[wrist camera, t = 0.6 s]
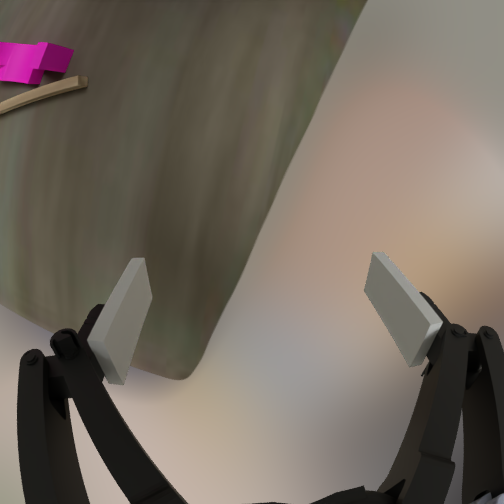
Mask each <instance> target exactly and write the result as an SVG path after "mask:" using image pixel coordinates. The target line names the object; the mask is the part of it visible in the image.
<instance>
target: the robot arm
mask: <svg viewBox="0 0 504 504" xmlns="http://www.w3.org/2000/svg"><path fill="white" fill-rule="evenodd" d="M364 292H365V293H366V295H367V296H368V298H369V300H370V301H371V303H372V304H373V306H374V308H375V309H376V311H377V313H378V314H379V316H380V317H381V319H382V321H383V322H384V324H385V326H386V327H387V329H388V331H389V332H390V334H391V336H392V337H393V339H394V341H395V343H396V344H397V346H398V348H399V350H400V351H401V353H402V355H403V357H404V359H405V360H406V362H407V364H408V366H409V367H413V366H417V365H421V364H422V363H423V361H424V359H425V357H426V356H427V357H428V359H429V363H428V364H427V366H426V368H425V370H424V371H423V373H422V375H421V376H423V375H424V378H423V382H422V385H421V389H420V393H419V396H418V399H417V402H416V406H415V409H414V412H413V415H412V418H411V420H410V423H409V426H408V429H407V431H406V434H405V437H404V440H403V442H402V444H401V447H400V450H399V452H398V454H397V457H396V459H395V461H394V463H393V465H392V468H391V470H390V472H389V474H388V476H387V478H386V479H385V481H384V482H383V483H382V485H381V486H380V487H379V489H378V490H377V492H376V491H366V490H365V488H364V486H361V487H357V488H353V489H349V490H345V491H341V492H336V493H334V494H332V495H330V496H327V497H325V498H323V499H321V500H318V501H316V502H313V503H311V504H444V501H445V498H446V495H447V493H448V490H449V487H450V484H451V480H452V477H453V474H454V470H455V463H454V462H452V461H451V456H452V452H453V448H454V444H455V440H456V435H457V431H458V426H459V421H460V416H461V410H462V412H463V432H464V463H463V465H464V466H463V483H462V504H504V352H503V348H502V345H501V342H500V339H499V336H498V334H497V333H496V331H495V330H494V329H492V328H491V327H488V326H482V327H481V328H480V329H479V331H478V333H477V334H474V333H468V332H467V331H466V329H465V328H463V327H462V326H460V325H458V324H451V323H450V322H449V321H448V319H447V318H446V317H445V316H444V315H443V313H442V312H441V311H440V310H439V309H438V307H437V306H436V305H435V304H434V302H433V301H432V300H431V299H430V298H429V297H428V296H427V295H426V294H424V293H422V292H418V291H417V289H416V288H415V287H414V286H413V285H412V283H411V282H410V281H409V280H408V279H407V278H406V277H405V275H404V274H403V273H402V272H401V271H400V270H399V269H398V268H397V266H396V265H395V264H394V263H393V262H392V261H391V260H390V259H389V257H388V256H387V255H386V254H385V253H384V252H373V254H372V258H371V263H370V268H369V272H368V276H367V280H366V284H365V289H364ZM151 301H152V293H151V288H150V284H149V279H148V274H147V269H146V264H145V258H132V259H131V260H130V262H129V264H128V265H127V267H126V269H125V270H124V272H123V274H122V275H121V277H120V279H119V281H118V282H117V284H116V286H115V288H114V289H113V291H112V293H111V295H110V297H109V298H108V300H107V302H106V304H98V305H96V306H95V307H94V308H93V309H92V310H91V311H90V313H89V314H88V316H87V319H86V320H85V322H84V325H82V327H81V329H80V331H79V333H78V334H77V333H76V332H75V330H73V329H66V328H65V329H62V330H59V331H58V332H56V333H55V334H54V335H53V336H52V337H51V340H50V346H51V348H52V349H53V351H54V353H55V355H54V356H47V357H45V356H44V354H43V353H42V352H41V351H40V350H38V349H32V350H29V351H27V352H26V353H25V354H24V355H23V356H22V358H21V360H20V367H19V379H18V380H19V381H18V396H17V397H18V398H17V435H18V451H19V463H20V472H21V479H22V485H23V492H24V497H25V502H26V504H90V502H89V499H88V496H87V493H86V489H85V485H84V482H83V479H82V474H81V471H80V467H79V462H78V457H77V453H76V448H75V443H74V437H73V432H72V425H71V419H70V411H69V403H68V398H73V401H74V403H75V405H76V407H77V410H78V412H79V414H80V417H81V419H82V421H83V423H84V425H85V427H86V429H87V431H88V433H89V435H90V437H91V439H92V441H93V443H94V445H95V447H96V449H97V451H98V452H99V454H100V456H101V458H102V459H103V461H104V463H105V465H106V466H107V468H108V470H109V471H110V473H111V475H112V476H113V478H114V479H115V481H116V482H117V484H118V486H119V487H120V489H121V490H122V491H123V493H124V494H125V496H126V497H127V499H128V500H129V502H130V504H188V503H187V502H186V501H185V500H184V498H183V497H182V496H181V495H180V494H179V493H178V492H177V491H176V489H175V488H174V487H173V486H172V485H171V484H170V482H169V481H168V480H167V479H166V478H165V476H164V475H163V474H162V473H161V471H160V470H159V469H158V468H157V466H156V465H155V464H154V462H153V461H152V460H151V459H150V457H149V456H148V454H147V453H146V452H145V450H144V449H143V448H142V446H141V445H140V443H139V442H138V440H137V439H136V438H135V436H134V435H133V433H132V432H131V430H130V429H129V427H128V425H127V424H126V422H125V421H124V419H123V418H122V416H121V415H120V413H119V411H118V409H117V408H116V406H115V404H114V403H113V401H112V399H111V398H110V396H109V394H108V392H107V391H106V389H105V387H104V385H103V383H102V381H103V378H104V376H105V377H106V379H107V381H108V383H110V384H118V385H124V383H125V380H126V376H127V372H128V369H129V366H130V363H131V360H132V357H133V353H134V350H135V347H136V344H137V341H138V338H139V335H140V332H141V329H142V326H143V323H144V320H145V318H146V315H147V312H148V309H149V306H150V304H151ZM481 367H482V368H481ZM255 504H285V503H276V502H269V503H255Z"/></svg>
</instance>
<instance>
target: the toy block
mask: <svg viewBox="0 0 504 504" xmlns="http://www.w3.org/2000/svg"><path fill="white" fill-rule="evenodd" d="M73 52H74V50H72V49H68V48H65V47H62V46H58V45H55V44H51V43H45V42H38V45H27V44H16V43H5V42H0V80H1V81H13V82H21V83H26V84H40V82H41V79H42V76H43V73H44V70H49V71H57V72H63V73H65V72H66V69H67V67H68V64H69V62H70V59H71V57H72V54H73Z"/></svg>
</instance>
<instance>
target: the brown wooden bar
mask: <svg viewBox="0 0 504 504" xmlns="http://www.w3.org/2000/svg"><path fill="white" fill-rule="evenodd" d="M84 87H88V77H85V76H79V75H78V76H74V77H70V78H67V79H63V80H60V81H57V82H54V83H51V84H47V85H44V86H42V87H39V88H36V89H33V90H30V91H28V92H25V93H23V94H20V95H18V96H15V97H13V98H10V99H8V100H6V101H3V102H1V103H0V114H3V113H5V112H8V111H10V110H13V109H15V108H18V107H21V106H23V105H26V104H29V103H32V102H35V101H38V100H41V99H44V98H47V97H50V96H54V95H57V94H60V93H64V92H68V91H72V90H75V89H79V88H84Z"/></svg>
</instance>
